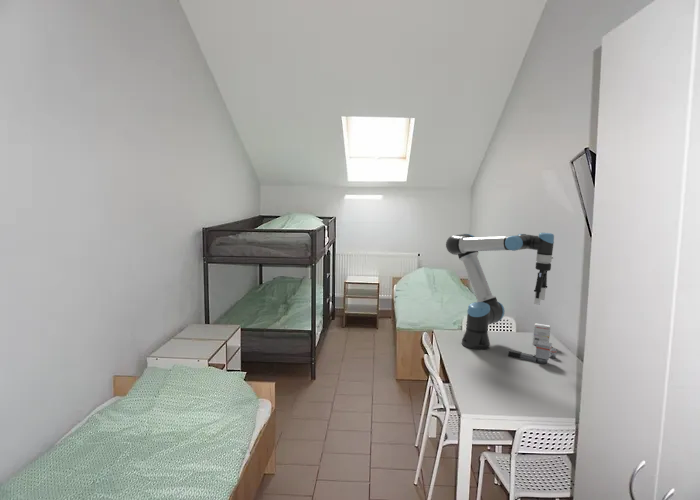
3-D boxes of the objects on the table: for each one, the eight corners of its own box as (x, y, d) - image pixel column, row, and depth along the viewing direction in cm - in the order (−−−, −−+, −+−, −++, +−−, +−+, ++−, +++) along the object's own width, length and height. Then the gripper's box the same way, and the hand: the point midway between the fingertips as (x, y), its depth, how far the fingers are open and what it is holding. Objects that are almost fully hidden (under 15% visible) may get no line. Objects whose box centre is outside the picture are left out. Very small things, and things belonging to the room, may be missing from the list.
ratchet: (507, 356, 271) (509, 343, 270) (510, 353, 276) (511, 341, 275) (546, 365, 262) (547, 351, 261) (548, 361, 267) (549, 348, 266)
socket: (535, 357, 264) (536, 343, 263) (537, 353, 269) (538, 340, 268) (548, 359, 261) (550, 346, 260) (550, 356, 266) (552, 343, 265)
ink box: (548, 344, 296) (550, 324, 295) (548, 347, 292) (550, 327, 290) (532, 342, 299) (534, 322, 297) (532, 344, 294) (534, 324, 293)
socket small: (546, 357, 274) (547, 349, 273) (548, 355, 277) (549, 347, 277) (555, 359, 272) (556, 350, 271) (556, 357, 275) (557, 348, 275)
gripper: (547, 266, 259) (542, 307, 262) (555, 260, 280) (550, 298, 283) (531, 264, 262) (527, 304, 265) (540, 258, 284) (536, 296, 287)
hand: (539, 301), depth 274 cm, fingers open, 13 cm apart
